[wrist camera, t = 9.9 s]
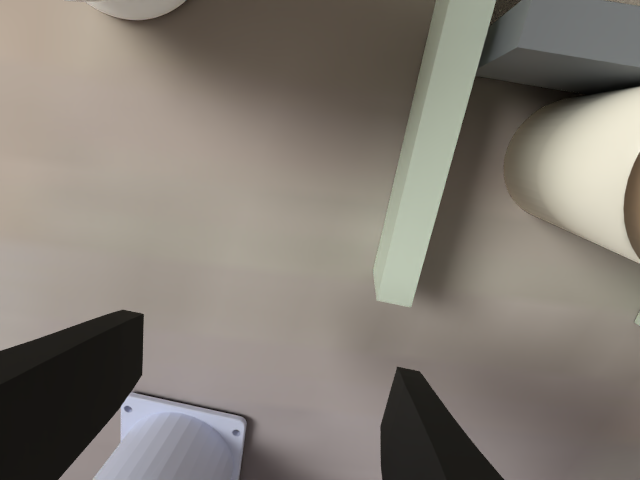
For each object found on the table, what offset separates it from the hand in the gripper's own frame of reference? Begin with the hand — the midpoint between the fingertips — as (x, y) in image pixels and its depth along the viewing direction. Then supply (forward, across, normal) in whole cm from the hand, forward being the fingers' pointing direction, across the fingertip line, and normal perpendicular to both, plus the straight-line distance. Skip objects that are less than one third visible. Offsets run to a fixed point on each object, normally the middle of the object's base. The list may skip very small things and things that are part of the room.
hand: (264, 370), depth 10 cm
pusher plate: (+9, -11, -11) cm, 18 cm away
